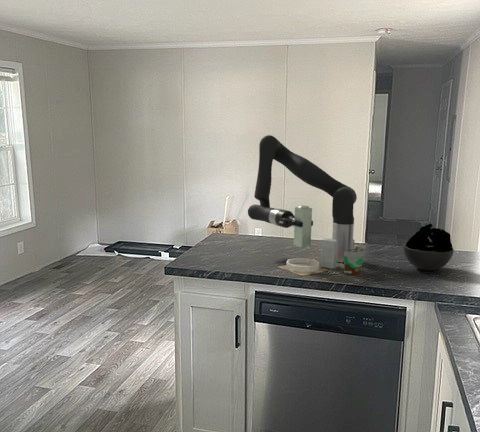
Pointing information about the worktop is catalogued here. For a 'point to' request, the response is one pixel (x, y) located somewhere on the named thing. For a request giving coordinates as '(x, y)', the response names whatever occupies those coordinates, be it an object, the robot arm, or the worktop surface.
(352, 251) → the food container
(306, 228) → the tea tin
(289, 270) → the board
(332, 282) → the worktop surface
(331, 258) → the skincare box
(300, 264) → the bowl
